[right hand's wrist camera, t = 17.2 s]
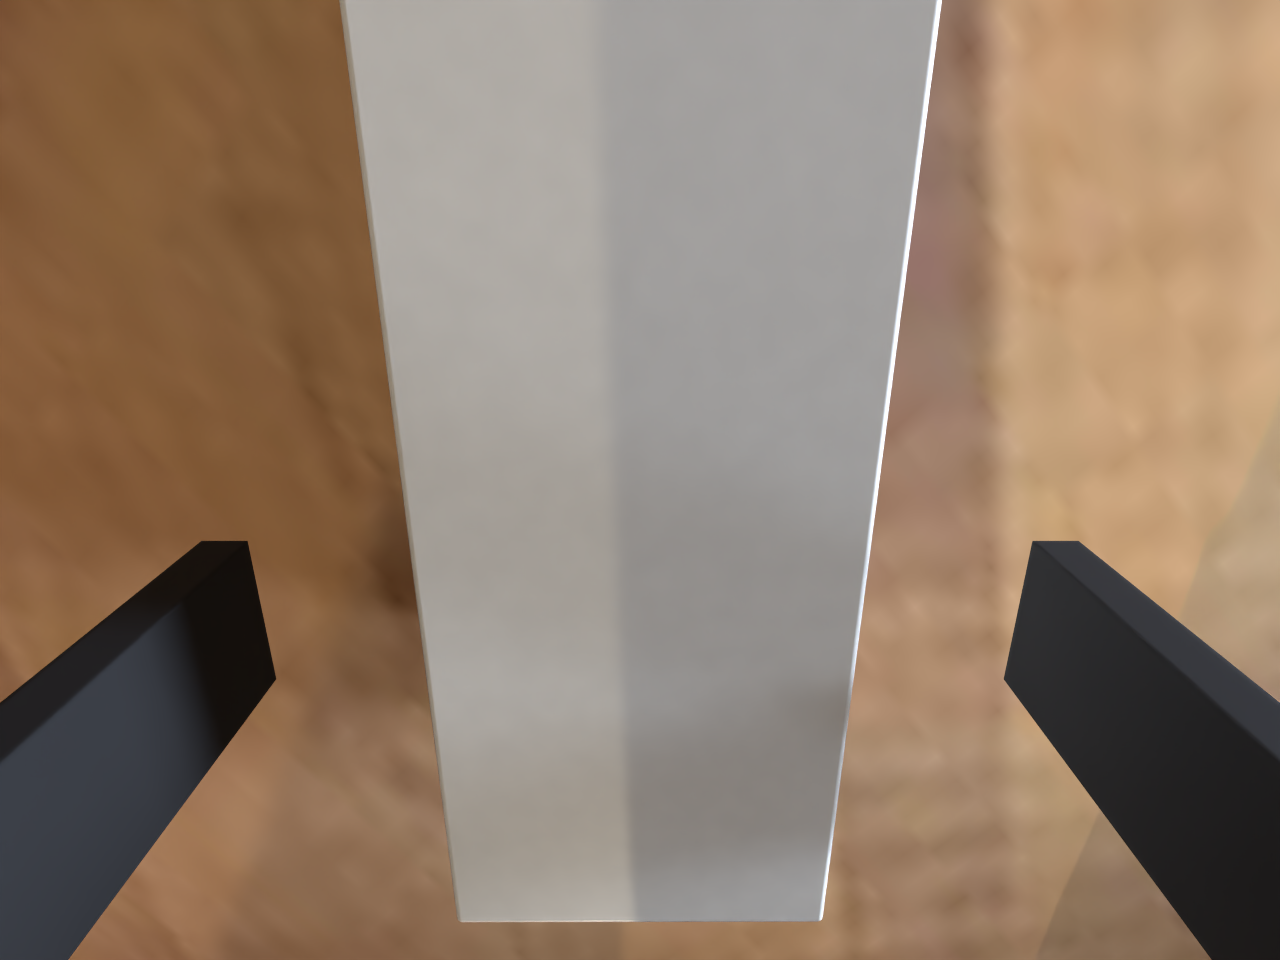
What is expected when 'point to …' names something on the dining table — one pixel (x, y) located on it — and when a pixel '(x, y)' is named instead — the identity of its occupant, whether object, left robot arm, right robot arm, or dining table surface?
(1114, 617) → the right robot arm
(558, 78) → the bar
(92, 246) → the dining table surface
